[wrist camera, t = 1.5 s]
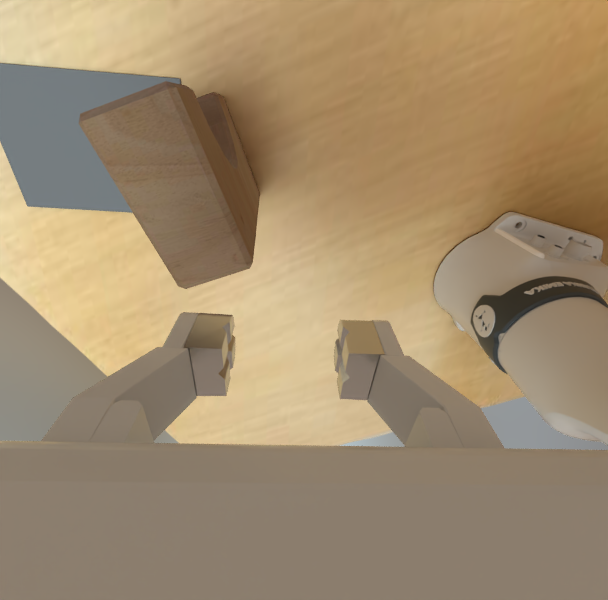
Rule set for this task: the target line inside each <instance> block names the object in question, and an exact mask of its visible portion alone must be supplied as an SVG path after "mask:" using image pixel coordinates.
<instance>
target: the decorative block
mask: <svg viewBox="0 0 608 600" xmlns="http://www.w3.org/2000/svg"><path fill="white" fill-rule="evenodd" d="M79 125H80V127H81V129H82V130H83V132H84V133H85V135H86V137H87V138H88V140H89V142H90V143H91V145H92V147H93V148H94V150H95V151H96V153H97V155H98V156H99V158H100V160H101V161H102V163H103V165H104V166H105V168H106V169H107V171H108V173H109V174H110V176H111V178H112V179H113V181H114V182H115V184H116V186H117V187H118V189H119V191H120V192H121V194H122V196H123V197H124V199H125V200H126V202H127V204H128V205H129V207H130V209H131V210H132V212H133V214H134V215H135V217H136V218H137V220H138V222H139V223H140V225H141V226H142V228H143V230H144V231H145V233H146V235H147V236H148V238H149V239H150V241H151V243H152V244H153V246H154V248H155V249H156V251H157V252H158V254H159V256H160V257H161V259H162V260H163V262H164V264H165V265H166V267H167V269H168V270H169V272H170V273H171V275H172V277H173V278H174V280H175V281H176V283H177V285H178V286H179V287H182V288H185V289H187V288H190V287H193V286H196V285H199V284H203V283H206V282H209V281H212V280H215V279H218V278H221V277H224V276H227V275H231V274H234V273H237V272H240V271H243V270H246V269H249V268H250V267H251V265H252V263H253V255H254V246H255V237H256V226H257V216H258V207H259V197H260V193H259V191H258V188H257V185H256V183H255V180H254V177H253V175H252V172H251V169H250V167H249V164H248V161H247V159H246V156H245V153H244V150H243V148H242V145H241V142H240V140H239V137H238V134H237V132H236V129H235V126H234V124H233V121H232V118H231V116H230V113H229V110H228V108H227V105H226V102H225V99H224V97H223V96H221V95H220V94H217V93H210V94H207V95H205V96H202V97H199V98H196V96H195V94H194V91H193V90H191V89H190V88H188V87H187V86H185V85H181V84H176V83H172V82H167V81H165V82H162V83H160V84H157V85H154V86H152V87H149V88H146V89H144V90H141V91H139V92H136V93H133V94H131V95H128V96H125V97H123V98H120V99H117V100H115V101H112V102H109V103H107V104H104V105H102V106H99V107H96V108H94V109H91V110H88V111H86V112H83V113H80V118H79Z"/></svg>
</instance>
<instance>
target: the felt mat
mask: <svg viewBox="0 0 608 600" xmlns="http://www.w3.org/2000/svg"><path fill="white" fill-rule="evenodd" d="M165 81H167V82H172V83H176V84H181V79H177V78H165V77H153V76H142V75H130V74H118V73H107V72H95V71H83V70H72V69H60V68H48V67H37V66H25V65H13V64H2V63H0V141H1V144H2V146H3V149H4V151H5V153H6V156H7V158H8V161H9V163H10V165H11V168H12V170H13V173H14V175H15V177H16V180H17V182H18V185H19V187H20V189H21V192H22V194H23V197H24V199H25V201H26V204H27V206H31V207H48V208H65V209H82V210H99V211H116V212H132V210H131V209H130V207H129V205H128V204H127V202H126V200H125V199H124V197H123V196H122V194H121V192H120V191H119V189H118V187H117V186H116V184H115V182H114V181H113V179H112V178H111V176H110V174H109V173H108V171H107V169H106V168H105V166H104V165H103V163H102V161H101V160H100V158H99V156H98V155H97V153H96V151H95V150H94V148H93V147H92V145H91V143H90V142H89V140H88V138H87V137H86V135H85V133H84V132H83V130H82V129H81V127H80V125H79V118H80V113H83V112H86V111H88V110H91V109H94V108H96V107H99V106H102V105H104V104H107V103H109V102H112V101H115V100H117V99H120V98H123V97H125V96H128V95H131V94H133V93H136V92H139V91H141V90H144V89H146V88H149V87H152V86H154V85H157V84H160V83H162V82H165Z"/></svg>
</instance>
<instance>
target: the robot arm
mask: <svg viewBox="0 0 608 600" xmlns="http://www.w3.org/2000/svg"><path fill="white" fill-rule="evenodd" d="M518 222H519V224H518V225H517V226H516V224H517V223H518ZM602 252H603V241H602V240H601V239H600V238H598V237H596V236H594V235H590V234H587V233H584V232H580V231H577V230H573V229H570V228H567V227H563V226H560V225H556V224H553V223H550V222H546V221H543V220H539V219H536V218H532V217H529V216H526V215H522V214H519V213H515V212H508V213H506V214H504V215H502V216H501V217H500V218H498V219H497V220H496V221H495V222H494V223H493V224H492V225H491V226H490V227H489V228H487V229H486V230H484V231H482V232H480V233H478V234H476V235H474V236H472V237H470V238H468V239H466V240H465V241H463V242H462V243H460V244H459V245H458V246H457V247H455V248H454V249H453V250H452V251H451V252H450V253H449V254H448V255H447V256H446V258H445V259H444V260H443V262H442V263H441V265H440V267H439V269H438V271H437V273H436V276H435V280H434V295H435V298H436V300H437V302H438V304H439V305H440V306H441V307H442V308H443V309H444V310H445V311H446V312H448V313H449V314H450V315H451V316H452V318H453V321H454V323H455V325H456V326H457V327H458V328H459V329H460V330H461V331H466V332H467V333H468V334H469V335H470V336H471V337H472V338H473V339H474V340H475V341H476V342H477V343H478V344H479V346H480V347H481V348H482V349H483V350H484V351H485V352H486V353H487V355H488V356H489V359H490V360H491V361H492V362H493V363H494V364H495V365H496V366H497V367H498V368H499V369H500V370H501V371H503V372H505V373H506V374H508V375H509V376H510V377H511V379H512V380H513V381H514V383H515V384H516V385H517V387H518V388H519V389H520V390H521V392H522V393H523V394H524V396H525V397H526V398H527V399H528V401H529V402H530V403H531V405H532V406H533V407H534V408H535V409H536V411H537V412H538V413H539V415H540V416H541V417H542V419H543V420H544V421H545V422H546V423H547V424H548V425H549V426H551V427H552V428H554V429H555V430H557V431H558V432H560V433H563V434H565V435H567V436H571V437H574V438H578V439H583V440H590V441H602V442H603V443H605V444H606V445H607V446H608V305H607V304H606V302H605V301H604V299H603V297H604V295H605V293H606V291H607V289H608V266H607V265H606V264H604V263H602V262H601V261H600V260H601V257H602ZM233 330H234V317H233V315H223V314H207V313H200V314H199V313H186V312H183V313H181V314H180V315H179V317H178V319H177V321H176V322H175V324H174V326H173V328H172V330H171V332H170V334H169V336H168V338H167V339H166V341H165V343H164V345H163V347H157V348H155V349H153V350H152V351H150V352H148V353H147V354H145V355H143V356H142V357H140V358H138V359H137V360H135V361H133V362H132V363H130V364H128V365H127V366H125V367H123V368H122V369H120V370H118V371H117V372H115V373H113V374H112V375H110V376H108V377H107V378H105V379H103V380H102V381H100V382H98V383H97V384H95V385H94V386H92V387H90V388H88V389H87V390H85V391H83V392H82V393H80V394H78V395H77V396H75V397H73V398H72V400H71V401H70V403H69V404H68V405H67V407H66V408H65V409H64V411H63V412H62V413H61V415H60V416H59V417H58V419H57V420H56V421H55V423H54V424H53V426H52V427H51V428H50V430H49V431H48V432H47V434H46V435H45V437H44V438H43V439H42V440H41V441H0V600H608V450H565V449H564V450H563V449H505V448H504V447H503V445H502V443H501V442H500V440H499V438H498V437H497V435H496V433H495V432H494V430H493V428H492V427H491V425H490V424H489V422H488V420H487V418H486V417H485V415H484V413H483V412H482V410H481V408H480V407H478V406H477V405H476V404H474V403H473V402H471V401H470V400H469V399H467V398H466V397H465V396H463V395H462V394H460V393H459V392H458V391H456V390H455V389H454V388H452V387H451V386H449V385H448V384H447V383H445V382H444V381H443V380H441V379H440V378H438V377H437V376H436V375H434V374H433V373H432V372H430V371H429V370H427V369H426V368H425V367H423V366H422V365H421V364H419V363H418V362H416V361H415V360H414V359H412V358H411V357H410V356H404V354H403V352H402V350H401V347H400V345H399V343H398V341H397V338H396V336H395V334H394V332H393V329H392V327H391V325H390V322H388V321H378V320H372V321H359V320H340V321H339V324H338V330H337V331H338V336H339V339H337V340H336V342H335V349H334V365H335V371H336V372H338V378H337V385H338V391H339V397H340V399H355V400H368V403H369V404H370V405H371V406H372V407H373V408H374V410H375V411H376V412H377V413H378V414H379V416H380V417H381V418H382V419H383V420H384V421H385V423H386V424H387V425H388V426H389V427H390V429H391V430H392V431H393V432H394V433H395V434H396V435H397V437H398V438H399V439H400V440H401V442H402V443H403V444H404V445H405V447H373V446H371V447H370V446H309V445H245V444H180V443H154V440H155V439H156V438H157V437H158V436H159V435H160V434H161V433H162V432H163V431H164V430H165V429H166V428H167V427H168V426H169V425H170V424H171V423H172V422H173V421H174V420H175V419H176V418H177V417H178V416H179V415H180V414H181V413H182V412H183V411H184V410H185V409H186V408H187V407H188V406H189V405H190V404H191V403H192V402H193V401H194V400H195V399H196V398H197V397H196V396H226V395H227V391H228V386H229V382H230V369H231V368H233V364H234V359H235V337H234V336H233V335H232V334H233Z"/></svg>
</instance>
